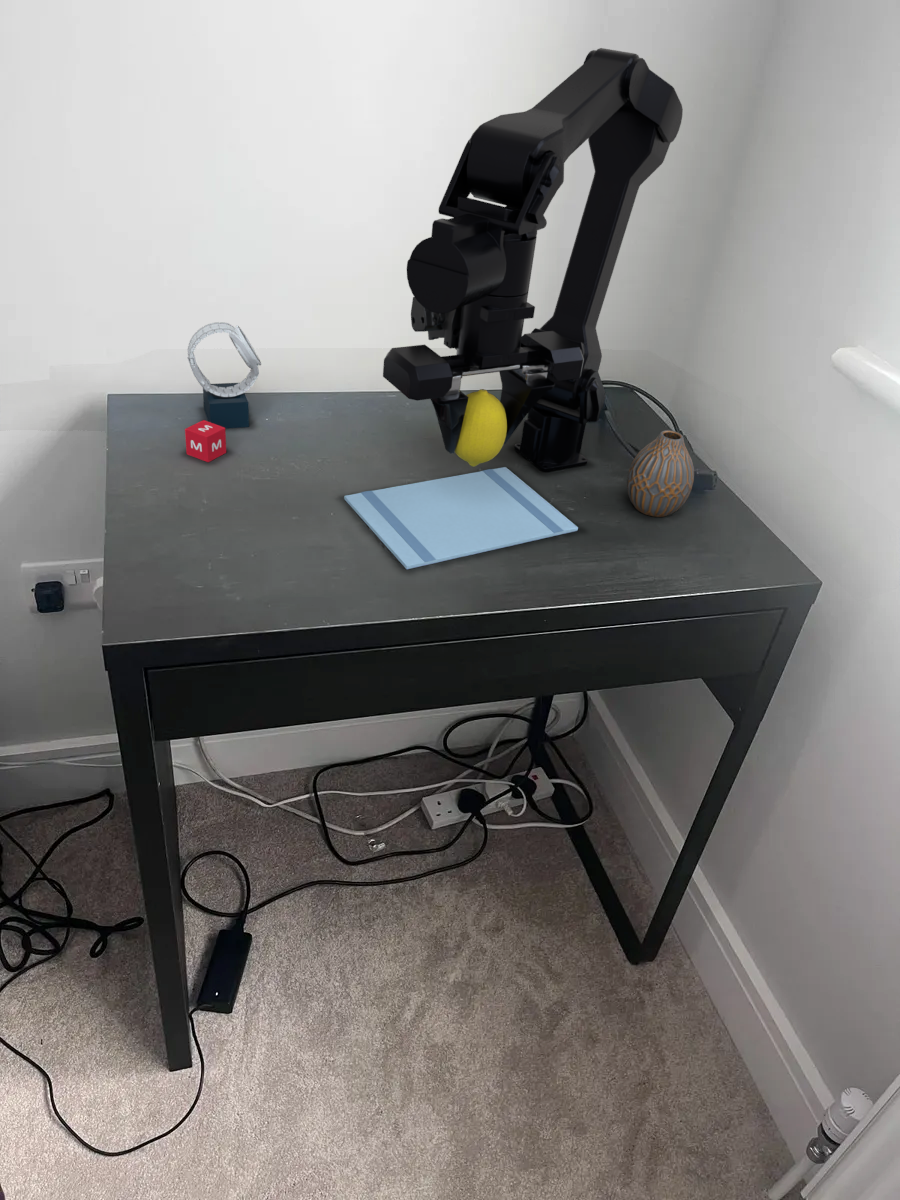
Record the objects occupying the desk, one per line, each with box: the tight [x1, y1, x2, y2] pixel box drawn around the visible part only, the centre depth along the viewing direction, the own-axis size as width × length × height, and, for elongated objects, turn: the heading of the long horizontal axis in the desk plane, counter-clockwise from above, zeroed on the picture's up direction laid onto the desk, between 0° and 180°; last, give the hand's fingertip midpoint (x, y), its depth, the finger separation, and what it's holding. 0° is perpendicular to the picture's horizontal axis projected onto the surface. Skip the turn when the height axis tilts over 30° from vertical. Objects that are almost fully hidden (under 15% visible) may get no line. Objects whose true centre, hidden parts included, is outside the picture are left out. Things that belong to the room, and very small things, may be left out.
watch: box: [187, 321, 262, 429], centre depth 104 cm, size 6×8×11 cm
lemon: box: [454, 388, 507, 467], centre depth 88 cm, size 6×6×8 cm
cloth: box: [343, 466, 579, 570], centre depth 95 cm, size 20×14×1 cm
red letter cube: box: [184, 419, 227, 463], centre depth 99 cm, size 3×3×3 cm
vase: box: [626, 429, 695, 518], centre depth 98 cm, size 7×7×9 cm
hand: (475, 447), depth 89 cm, fingers closed on lemon, 5 cm apart
